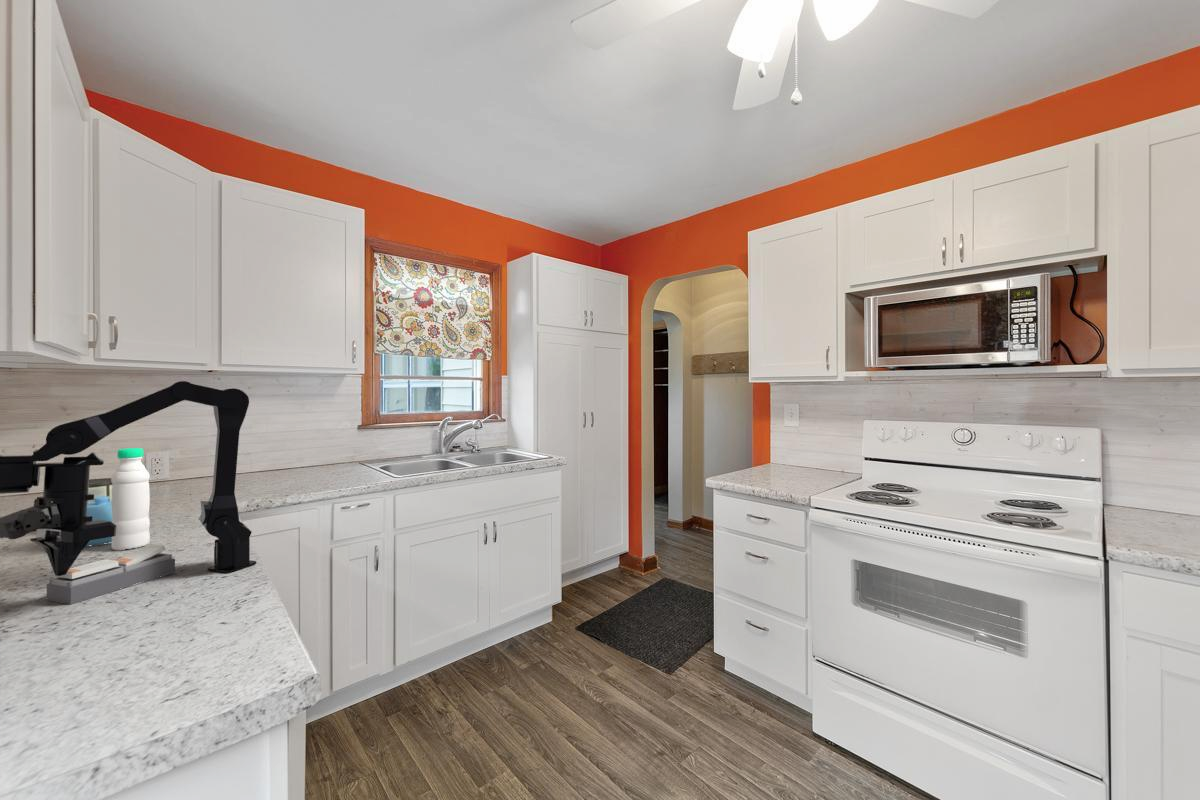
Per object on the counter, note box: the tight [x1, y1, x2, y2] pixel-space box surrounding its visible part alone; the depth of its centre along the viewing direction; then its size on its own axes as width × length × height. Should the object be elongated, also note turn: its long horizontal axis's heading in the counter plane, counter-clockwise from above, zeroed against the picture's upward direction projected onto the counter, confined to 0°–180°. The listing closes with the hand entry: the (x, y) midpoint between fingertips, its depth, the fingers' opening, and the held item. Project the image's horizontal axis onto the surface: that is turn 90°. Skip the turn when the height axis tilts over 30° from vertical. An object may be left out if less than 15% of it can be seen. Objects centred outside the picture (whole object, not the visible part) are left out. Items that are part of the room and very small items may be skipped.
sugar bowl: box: [86, 496, 113, 547], centre depth 131 cm, size 15×15×12 cm
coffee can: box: [87, 477, 113, 504], centre depth 141 cm, size 10×10×14 cm
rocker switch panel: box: [46, 552, 176, 605], centre depth 99 cm, size 7×17×4 cm, turn 163°
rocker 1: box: [57, 558, 119, 579], centre depth 95 cm, size 4×7×1 cm, turn 163°
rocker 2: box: [114, 543, 166, 567], centre depth 103 cm, size 4×7×1 cm, turn 163°
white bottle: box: [110, 447, 151, 551], centre depth 124 cm, size 7×7×25 cm
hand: (60, 575), depth 91 cm, fingers closed, pressing on rocker 1
